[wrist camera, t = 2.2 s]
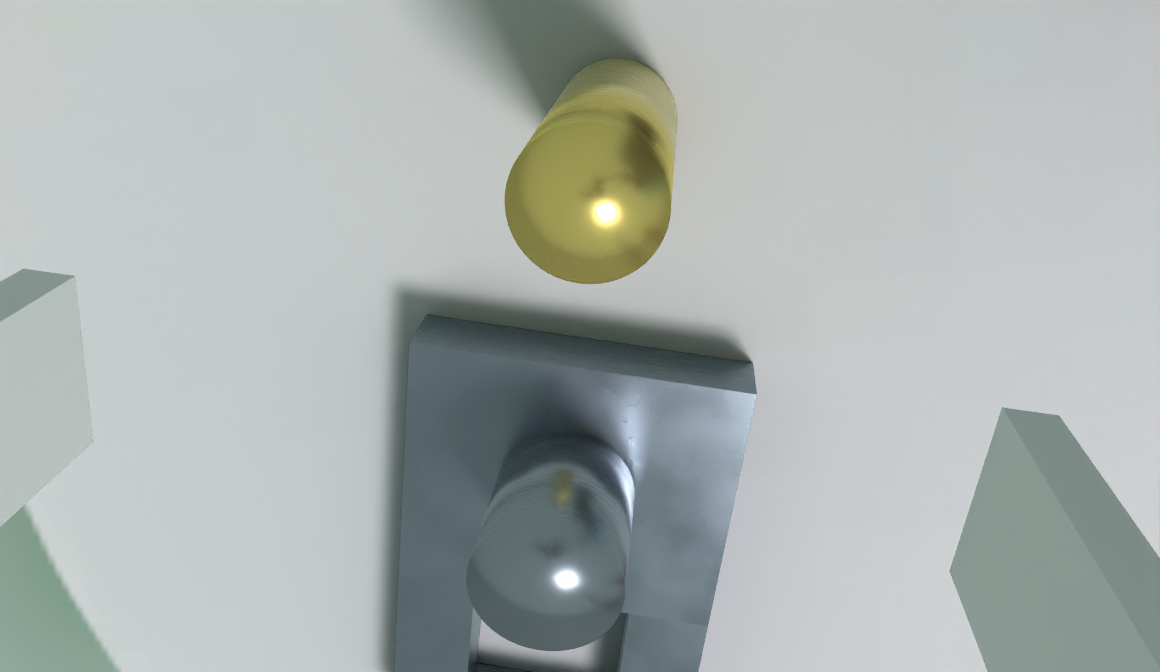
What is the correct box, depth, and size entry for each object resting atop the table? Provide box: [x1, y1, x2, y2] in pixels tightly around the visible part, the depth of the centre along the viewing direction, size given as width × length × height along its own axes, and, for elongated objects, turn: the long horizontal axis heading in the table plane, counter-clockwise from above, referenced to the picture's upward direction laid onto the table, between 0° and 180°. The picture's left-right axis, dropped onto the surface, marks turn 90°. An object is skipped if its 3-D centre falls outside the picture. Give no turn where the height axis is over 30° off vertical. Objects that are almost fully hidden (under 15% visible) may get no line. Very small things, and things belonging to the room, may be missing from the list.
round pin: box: [505, 58, 677, 284], centre depth 28 cm, size 4×4×10 cm
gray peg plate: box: [394, 315, 757, 672], centre depth 36 cm, size 18×12×8 cm, turn 173°
